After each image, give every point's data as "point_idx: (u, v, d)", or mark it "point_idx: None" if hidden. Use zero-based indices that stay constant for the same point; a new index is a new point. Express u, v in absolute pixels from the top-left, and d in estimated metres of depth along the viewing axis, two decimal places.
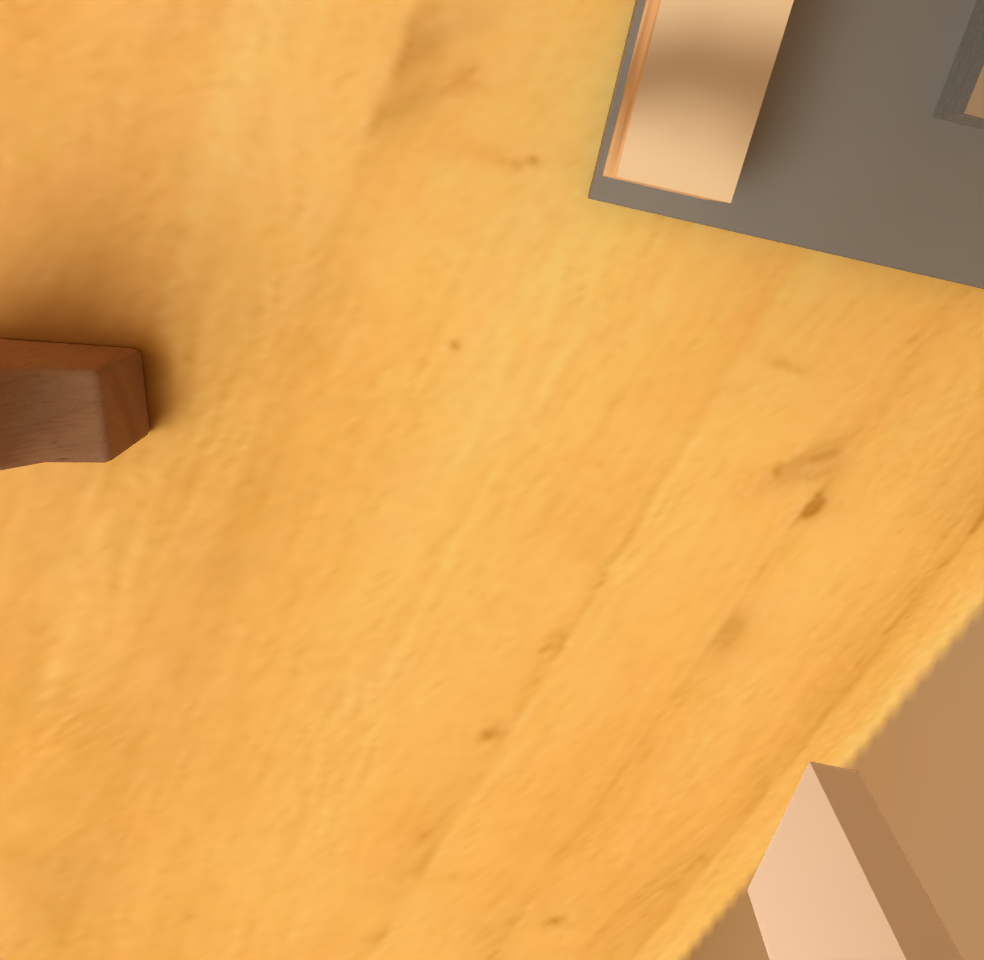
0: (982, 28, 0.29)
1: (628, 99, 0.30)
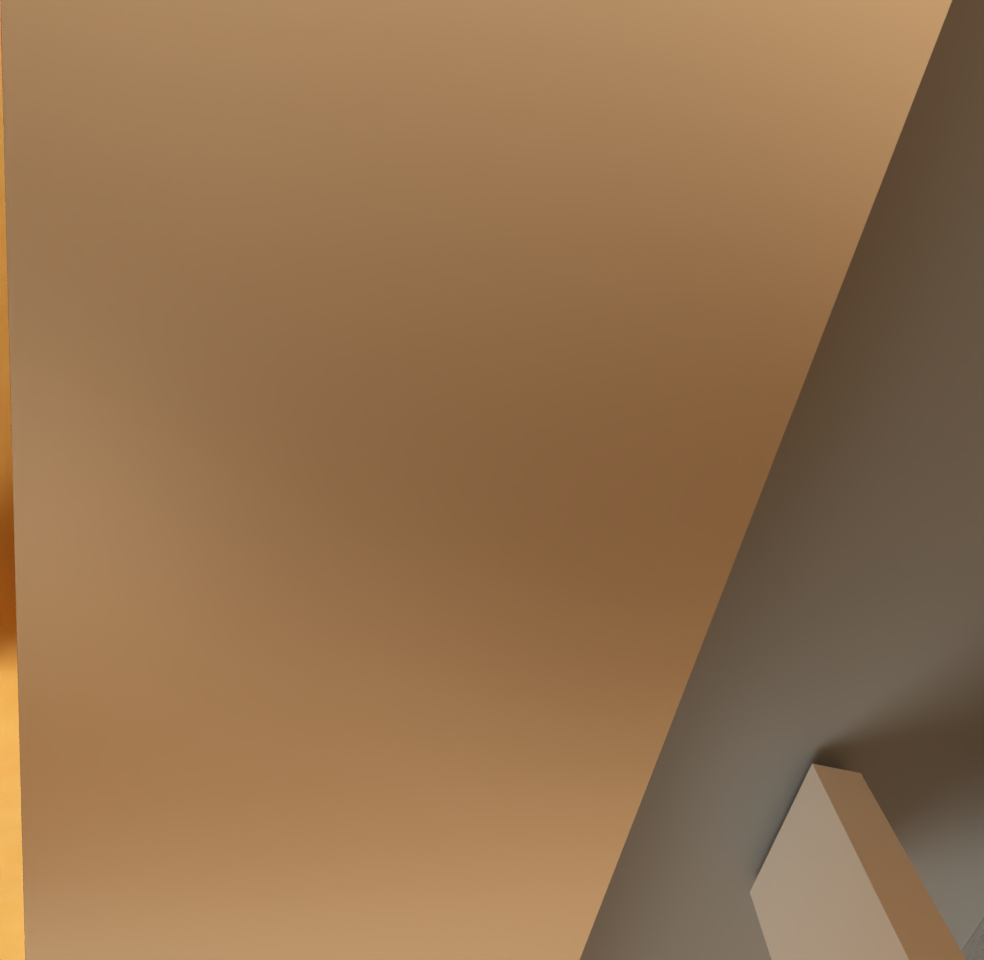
0: None
1: None
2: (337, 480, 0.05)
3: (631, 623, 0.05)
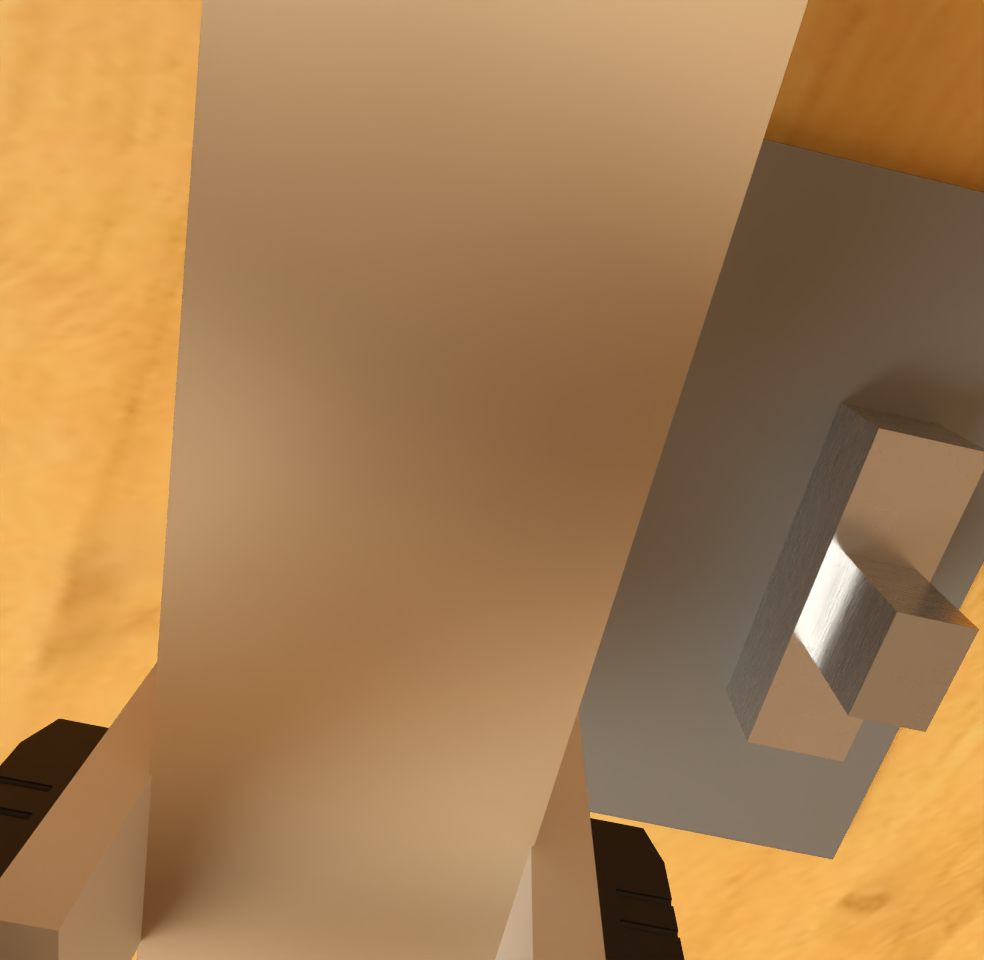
0: (770, 633, 0.23)
1: None
2: (393, 400, 0.07)
3: (592, 503, 0.07)
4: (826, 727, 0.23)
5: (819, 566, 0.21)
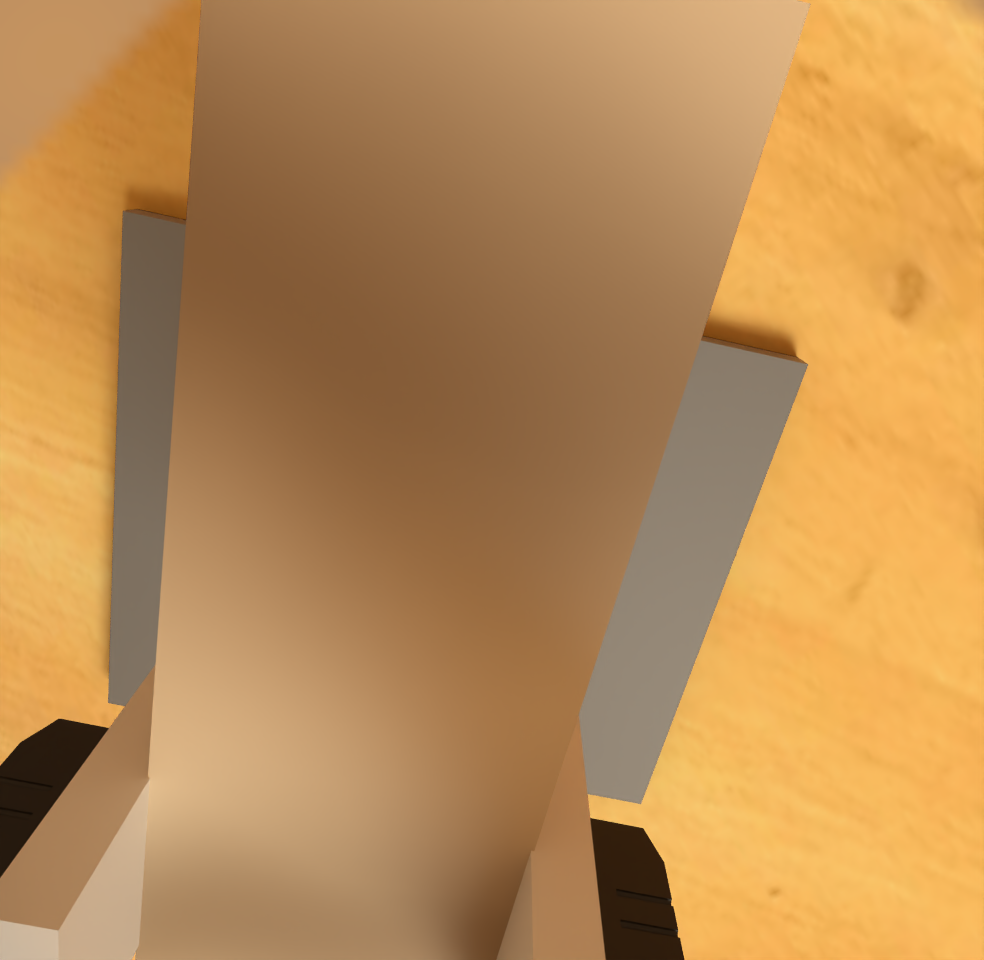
0: None
1: None
2: (393, 405, 0.07)
3: (592, 508, 0.07)
4: None
5: None
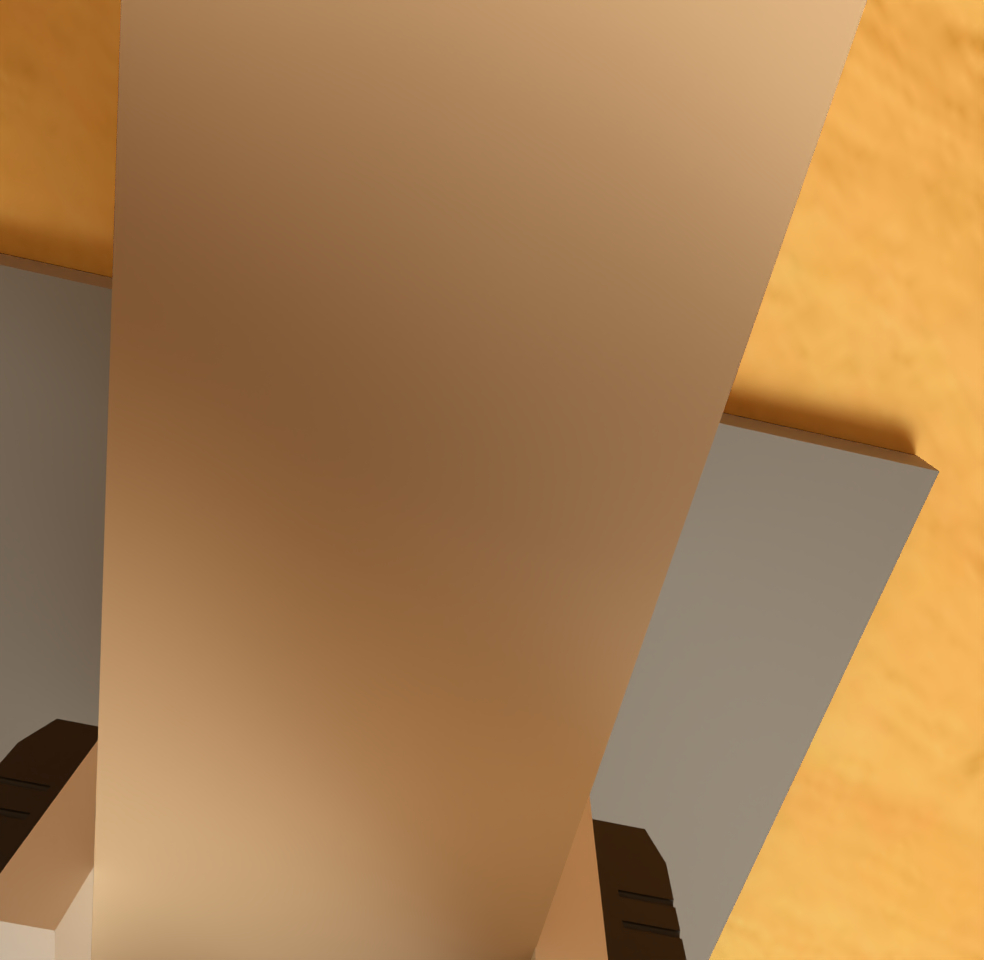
0: None
1: None
2: (365, 466, 0.06)
3: (600, 582, 0.06)
4: None
5: None
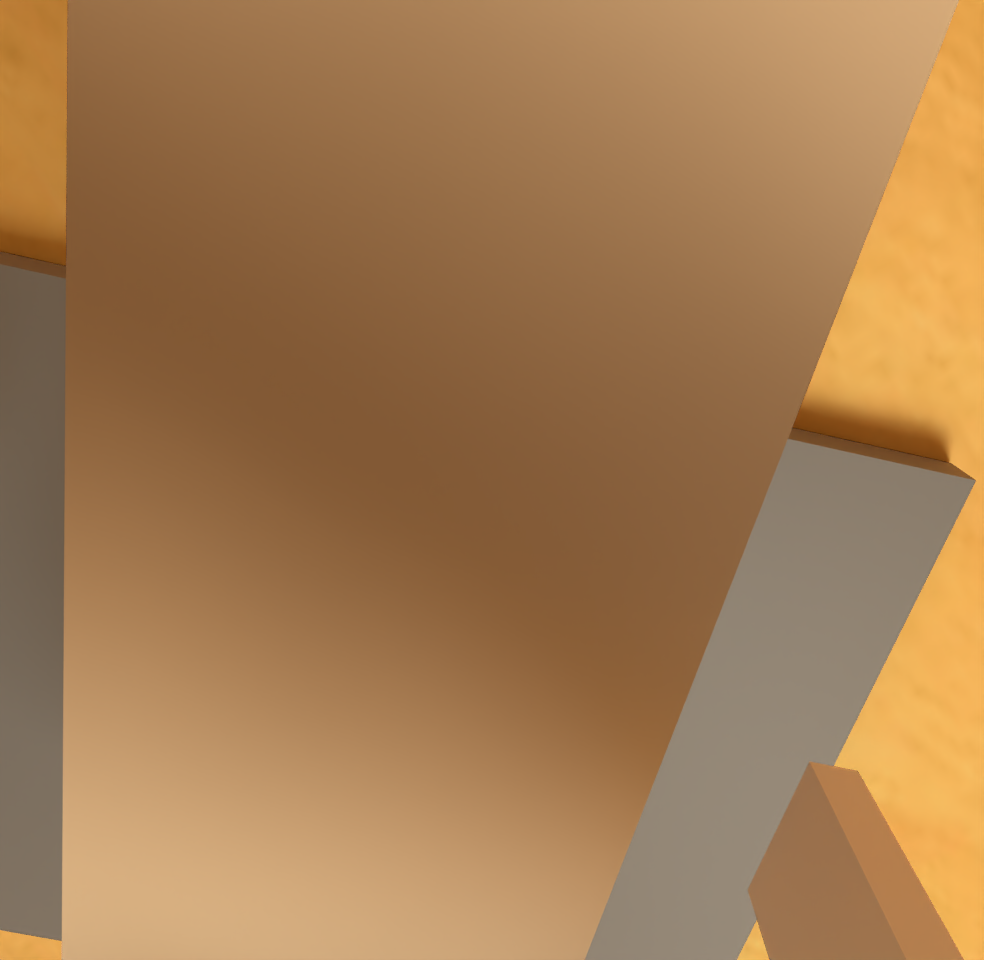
0: None
1: None
2: (367, 495, 0.05)
3: (640, 629, 0.05)
4: None
5: None
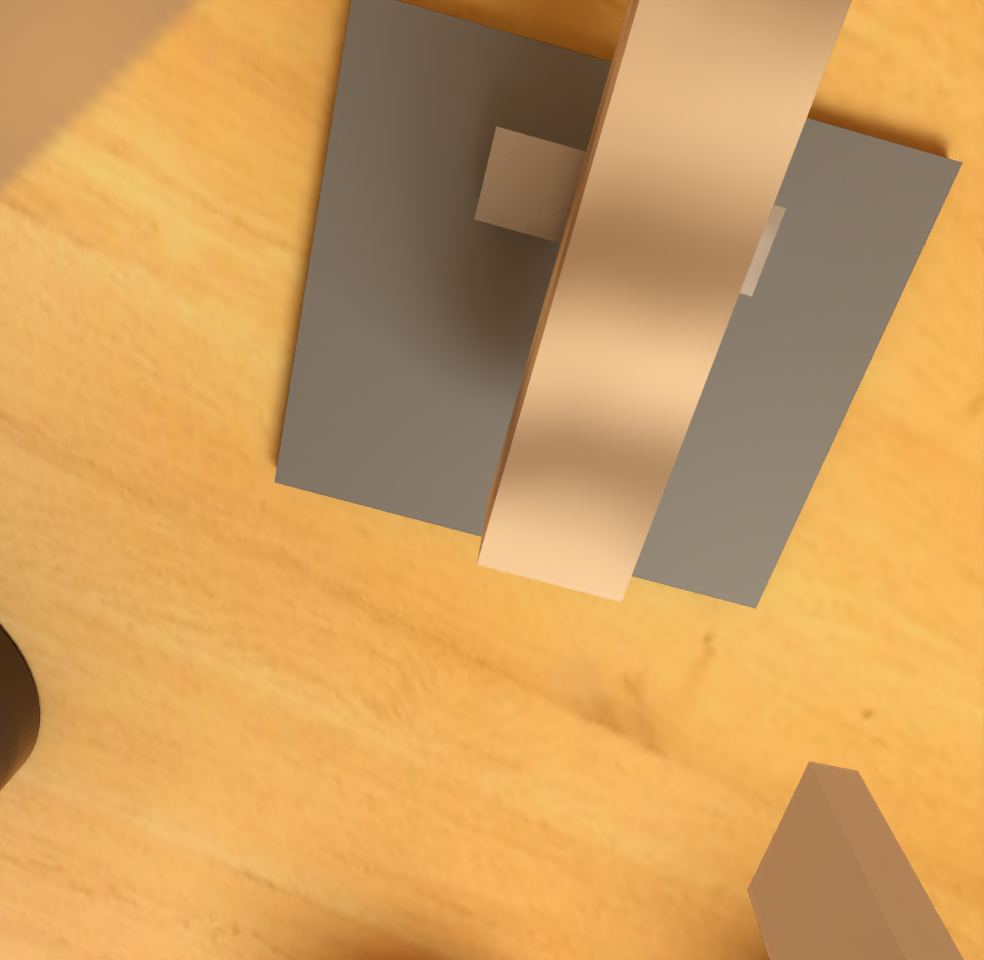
0: None
1: (505, 449, 0.24)
2: None
3: None
4: None
5: None
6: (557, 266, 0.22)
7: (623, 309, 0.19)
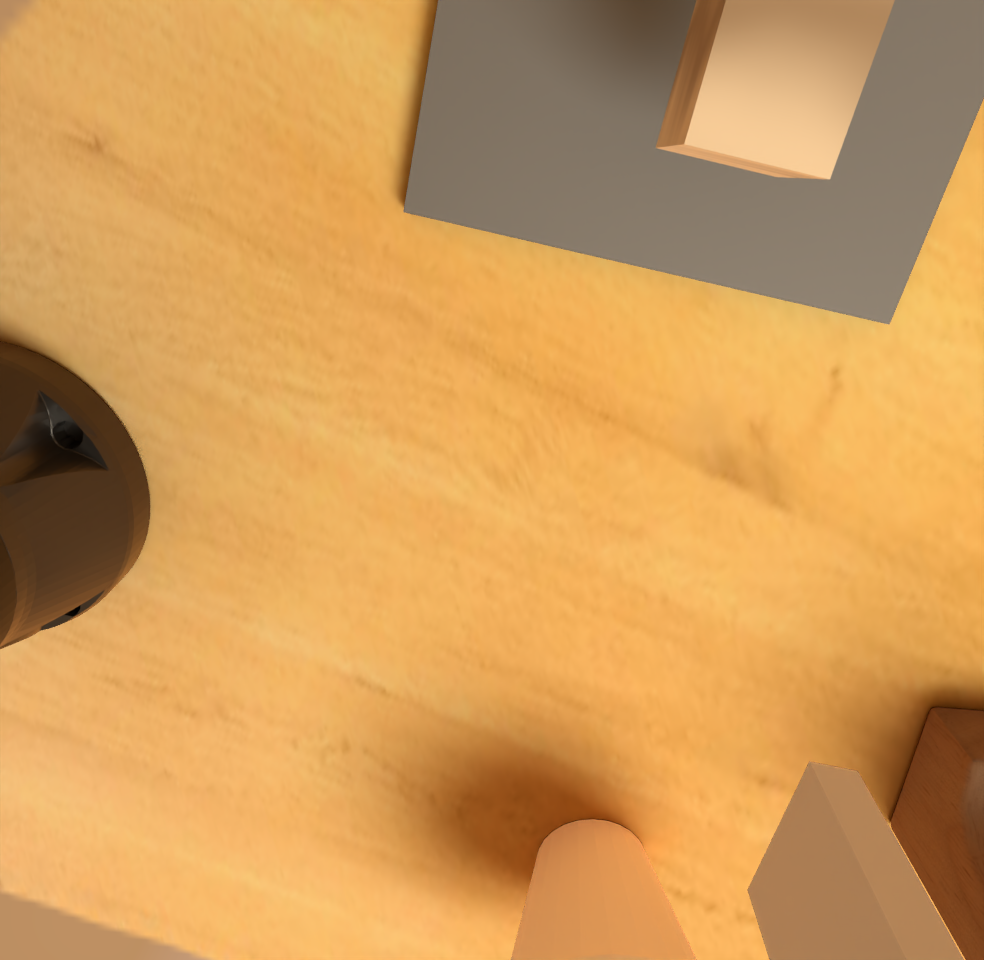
0: None
1: (697, 47, 0.23)
2: None
3: None
4: None
5: None
6: None
7: None
